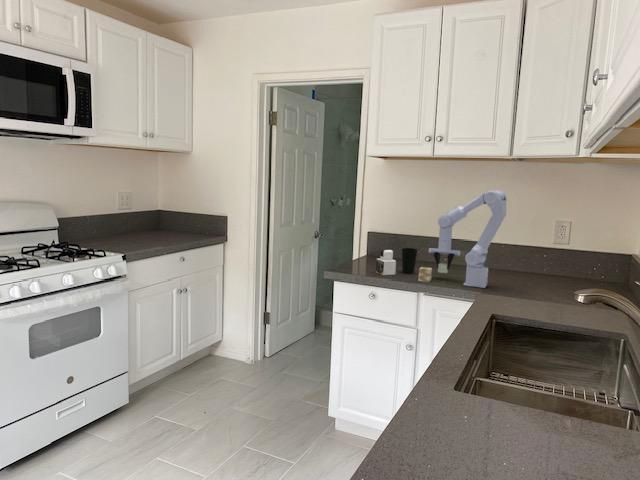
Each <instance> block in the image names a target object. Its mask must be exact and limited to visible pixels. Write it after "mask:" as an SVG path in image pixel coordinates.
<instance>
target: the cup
mask: <svg viewBox="0 0 640 480" xmlns="http://www.w3.org/2000/svg"><path fill="white" fill-rule="evenodd" d="M417 256H418V249H417V248H413V247H405V248H404V247H403V248H401V257H402V258H401V259H402V260H401V261H402V273H403V274H409V275H412V274H414V273H415V267H416V261H417Z"/></svg>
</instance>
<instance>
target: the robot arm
mask: <svg viewBox="0 0 640 480" xmlns="http://www.w3.org/2000/svg"><path fill="white" fill-rule="evenodd" d="M507 201H508V198H507V196H506V194H505V192H504V191H503V190H501V189H499V190H498V189H497V190H488V191H486V192H484V193H481V194H480V195H479V196H477V197H475V198H474V199H473V200H472V201H470V202H468V203H467V204H465V205H464V206H461V205H459V206H458V205H457V206H454V209H453V210H451V211H449V212H446V213H445V214H446V215H445V214H442V215H441V216H440V217H439V218H438V221H437V224H438V227H439V232H438V247H436V248H433V247H430V248H428V253H429V254H430V253H433V257H434V260H435V262H436V268H437V270H438V264H439V263H441V255H442V254H443V255H447V270H448V271H449V270H450V267H451V264H452V262H453V259H454V257H455V256H461V250H456V249H452V237H453V227H454V226H455V224H456V223H458V222H459V221H461V220H463V219H465V218H466V217H467V215H468V213H470V212H472V211H473V210H475V209H477V208H478V207H480V206H482V205H487V206H488V207H489V209H490V211H491V213H492V214H491V217H490V218H489V219H488V221H487V224H486V225H485V227H484V229H483V232H482V233H481V235H480V236H479V238H478V241H477V242H476V244H475V245H474V246H473V247H472V248H471V249H470V251H469V252H468V253H466V255H465V257H464V260H465V263H466V273H465V282H464V283H463V284H462V285H463V286H467V287H473V288H474V287H475V288H476V287H477V288H481V289H482V288H483V289H485V288H486V287H487V285H488V278H489V277H488V275H489V268H488V267H485V266H484V264H485V262H486V261H487V254H488V252H489V250H488V249H489V247H490V245H491V243H492V241H493V240H494V237H495V236H496V234H497V232H498V230H499V228H500V227H501V225H502V223H503V221H504V219H505V218H506V215H507Z"/></svg>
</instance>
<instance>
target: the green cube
mask: <svg viewBox="0 0 640 480" xmlns="http://www.w3.org/2000/svg"><path fill="white" fill-rule="evenodd" d="M447 264H448V262H447V263H444V262H440V263H439V264H438V269H437V273H440V274H441V273H442V274H447V273H448V272H449V270H447Z"/></svg>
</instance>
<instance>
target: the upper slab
mask: <svg viewBox="0 0 640 480" xmlns="http://www.w3.org/2000/svg"><path fill="white" fill-rule="evenodd" d="M432 274H433V268H432V267H427V266H426V267H425V266H421V267H419V269H418V276H419V275H423V276H431V275H432ZM432 276H433V275H432ZM432 276H431V277H432Z"/></svg>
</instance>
